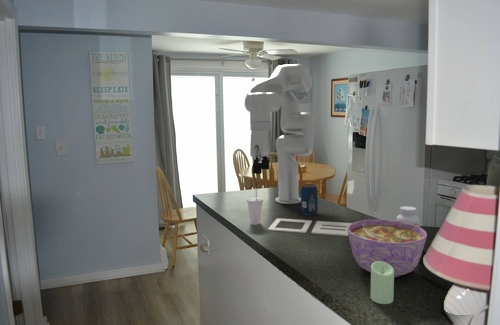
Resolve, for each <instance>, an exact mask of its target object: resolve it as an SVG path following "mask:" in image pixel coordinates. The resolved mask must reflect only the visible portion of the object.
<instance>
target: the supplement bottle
mask: <svg viewBox="0 0 500 325" xmlns="http://www.w3.org/2000/svg"><path fill="white" fill-rule="evenodd" d="M399 212H400V214H398V215H397V216H396V220H395V221H399V222H404V223H409V224H412V225H415V226H418V227H420V218H419V217H418V216H417V215H416V214H417V208H416V207H415V206H407V205H405V206H400V207H399Z"/></svg>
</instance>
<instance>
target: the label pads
mask: <svg viewBox="0 0 500 325" xmlns="http://www.w3.org/2000/svg"><path fill="white" fill-rule="evenodd" d="M281 222H285V223H286V222H287V223H300V224H301V223H303V224H304V225H303V226H302V228H301V229H300V228H297V229H296V228H284V227H277V226H278V225H279V224H280V223H281ZM312 222H313V220H308V219H292V218H276V219H275V220H274V221H273V222H272V224H270V226H269V227H268V228H267V231H271V232H272V231H273V232H275V231H276V232H287V233H300V234H306V233H307V232H308V230H309V227H310V226H311V224H312ZM352 223H353V222H339V221H337V222H336V221H323V220H321V221H320V220H316V221H315V224H314V226H313V229H312V230H311V234H314V235H328V236H340V237H349V236H348V231H347V228H348V226H349V225H350V224H352Z"/></svg>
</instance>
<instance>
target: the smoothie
mask: <svg viewBox="0 0 500 325" xmlns="http://www.w3.org/2000/svg"><path fill="white" fill-rule="evenodd" d="M254 192H255V197H248V198H247V199H246V204H247V207H248V213H249V219H250V225H252V226H257V225H261V218H262V207H263V203H264V199H263V198H262V197H258V188H257V187H255V191H254Z"/></svg>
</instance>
